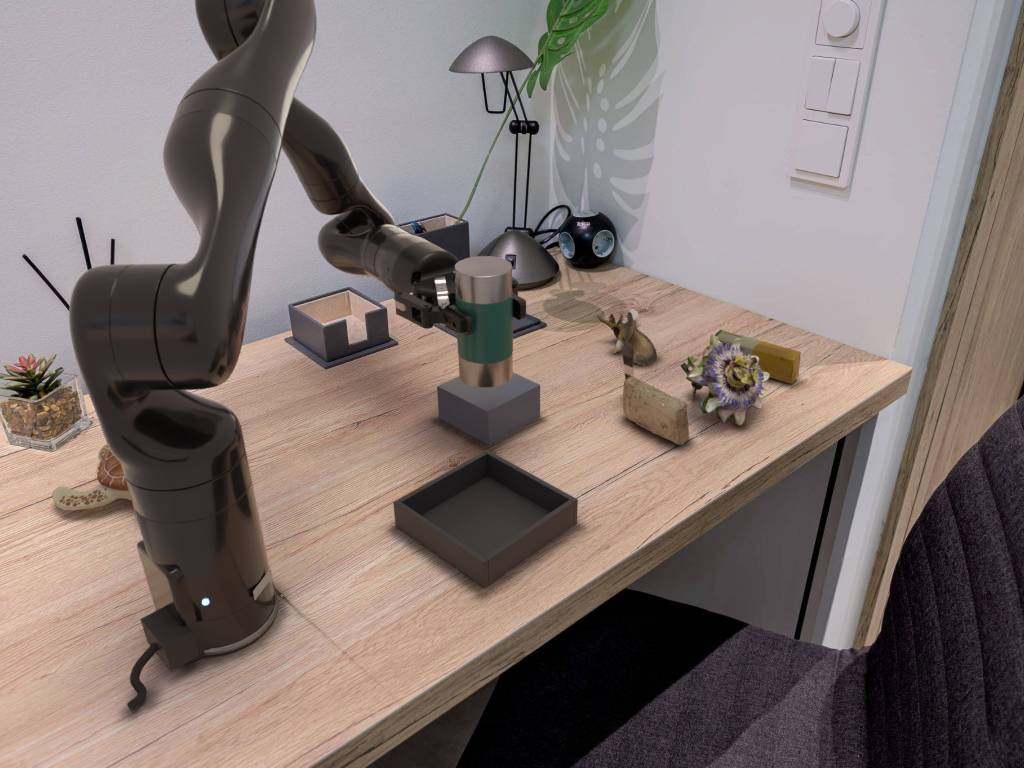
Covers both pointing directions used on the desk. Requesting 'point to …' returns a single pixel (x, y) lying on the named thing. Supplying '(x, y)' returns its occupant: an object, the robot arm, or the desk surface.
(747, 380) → the passion flower
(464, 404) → the stand
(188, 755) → the desk surface
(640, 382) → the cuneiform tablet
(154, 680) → the desk surface
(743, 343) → the medication box
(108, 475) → the decorative turtle
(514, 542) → the tray
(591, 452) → the desk surface
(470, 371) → the can
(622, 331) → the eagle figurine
